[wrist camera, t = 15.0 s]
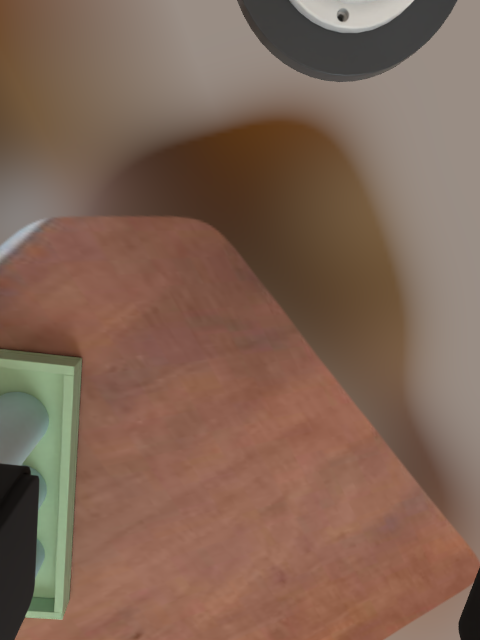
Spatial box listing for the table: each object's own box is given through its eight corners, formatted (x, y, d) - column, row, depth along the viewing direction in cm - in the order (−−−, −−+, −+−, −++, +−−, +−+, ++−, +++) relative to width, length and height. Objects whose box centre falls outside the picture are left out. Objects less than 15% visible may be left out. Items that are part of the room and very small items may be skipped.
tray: (-37, 344, 35) (-52, 352, 33) (82, 357, 36) (74, 366, 34) (-32, 593, 41) (-45, 613, 39) (69, 599, 42) (62, 619, 40)
